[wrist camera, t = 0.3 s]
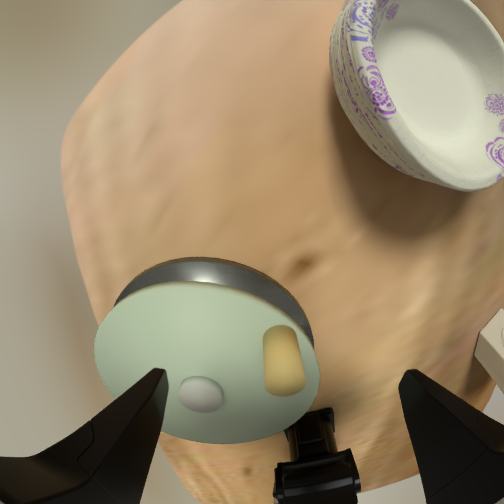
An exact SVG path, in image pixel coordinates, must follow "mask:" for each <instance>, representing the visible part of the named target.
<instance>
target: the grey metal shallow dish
mask: <svg viewBox="0 0 504 504" xmlns="http://www.w3.org/2000/svg"><path fill="white" fill-rule="evenodd" d="M173 281H200V282H211V283H216V284H221V285H226V286H230V287H234V288H237V289H240V290H243V291H246V292H249V293H251V294H253V295H256V296H258V297H260V298H262V299H265V300H266V301H268V302H270V303H271V304H273V305H275V306H276V307H278V308H280V309H281V310H282V311H284V312H285V313H286V314H287V315H289V316H290V317H291V318H292V319H293V320H294V321H295V322H296V323H297V324H298V325H299V326H300V327H301V328H302V329H303V331H304V332H305V334H306V335H307V337H308V338H309V339H310V342H311V344H312V346H313V348H314V339H313V335H312V331H311V328H310V324H309V321H308V319H307V317H306V315H305V312H304V311H303V309H302V308H301V306H300V304H299V303H298V301H297V300H296V299H295V298H294V297H293V296H292V295H291V294H290V292H289V291H288V290H286V289H285V288H284V287H283V286H282V285H280V284H279V283H278V282H277V281H275V280H274V279H272V278H270V277H269V276H267V275H266V274H264V273H262V272H260V271H258V270H256V269H254V268H251V267H249V266H246V265H243V264H240V263H237V262H234V261H229V260H224V259H219V258H209V257H186V258H180V259H174V260H169V261H166V262H163V263H160V264H157V265H155V266H153V267H151V268H149V269H147V270H145V271H144V272H142V273H141V274H139V275H138V276H136V277H135V278H134V279H133V280H132V281H131V282H130V283H129V284H128V285H127V286H126V288H125V289H124V290H123V291H122V293H121V294H120V296H119V297H118V299H117V300H116V302H115V305H116V304H117V303H118V302H119V301H121V300H122V299H124V298H125V297H126V296H128V295H129V294H131V293H133V292H135V291H138V290H140V289H142V288H145V287H148V286H152V285H155V284H159V283H166V282H173ZM115 305H114V306H115Z"/></svg>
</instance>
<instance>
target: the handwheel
mask: <svg viewBox="0 0 504 504" xmlns="http://www.w3.org/2000/svg"><path fill="white" fill-rule="evenodd" d="M94 356H95V362H96V366H97V369H98V372H99V374H100V377H101V378H102V380H103V382H104V384H105V386H106V387H107V388H108V390H109V392H110V393H111V394H112V395H113V397H114V398H115V399H117V398H118V397H119V396H120V395H122V394H123V393H124V392H125V391H126V390H128V389H129V388H130V387H131V386H132V385H134V384H135V383H136V382H137V381H139V380H140V379H141V378H142V377H143V376H145V375H146V374H147V373H148V372H149V371H151V370H152V369H153V368H155V367H156V368H163V369H165V370H166V372H167V377H168V383H169V391H168V397H167V402H166V408H165V413H164V419H163V425H162V428H161V431H162V432H165V433H167V434H170V435H173V436H176V437H179V438H183V439H186V440H191V441H196V442H202V443H211V444H235V443H244V442H250V441H255V440H259V439H262V438H265V437H269V436H271V435H274V434H276V433H278V432H280V431H282V430H284V429H286V428H288V427H289V426H291V425H292V424H294V423H295V422H296V421H297V420H299V419H300V418H301V417H302V416H303V415H304V414H305V413H306V412H307V410H308V409H309V408H310V407H311V405H312V403H313V402H314V400H315V398H316V395H317V393H318V389H319V384H320V370H319V366H318V362H317V358H316V354H315V350H314V348H313V346H312V344H311V342H310V339H309V338H308V337H307V335H306V334H305V332H304V331H303V329H302V328H301V327H300V326H299V325H298V324H297V323H296V322H295V321H294V320H293V319H292V318H291V317H290V316H289V315H287V314H286V313H285V312H284V311H282V310H281V309H280V308H278V307H276V306H275V305H273V304H271V303H270V302H268V301H266V300H265V299H262V298H260V297H258V296H256V295H253V294H251V293H249V292H246V291H243V290H240V289H237V288H234V287H230V286H226V285H221V284H216V283H211V282H200V281H173V282H166V283H159V284H155V285H152V286H148V287H145V288H142V289H140V290H138V291H135V292H133V293H131V294H129V295H128V296H126V297H125V298H124V299H122V300H121V301H119V302H118V303H117V304H116V305H115V306H114V307H113V308H112V309H111V311H110V312H109V313H108V315H107V316H106V317H105V319H104V320H103V322H102V324H101V325H100V327H99V329H98V332H97V335H96V338H95V344H94Z"/></svg>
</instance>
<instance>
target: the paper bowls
mask: <svg viewBox="0 0 504 504" xmlns="http://www.w3.org/2000/svg"><path fill="white" fill-rule="evenodd" d="M329 60H330V69H331V74H332V78H333V82H334V87H335V90H336V94H337V97H338V100H339V102H340V104H341V106H342V109H343V110H344V112H345V114H346V116H347V117H348V119H349V120H350V122H351V124H352V125H353V127H354V129H355V130H356V131H357V133H358V134H359V135H360V137H361V138H362V139H363V140H364V141H365V143H366V144H367V145H368V146H369V148H370V149H371V150H372V151H374V152H375V153H376V154H377V155H378V156H379V157H380V158H381V159H383V160H384V161H385V162H387V163H388V164H389V165H391V166H392V167H394V168H395V169H397V170H399V171H401V172H403V173H405V174H407V175H410V176H412V177H415V178H418V179H421V180H425V181H428V182H432V183H435V184H438V185H441V186H444V187H447V188H452V189H455V190H460V191H464V192H474V191H479V190H482V189H486V188H488V187H490V186H492V185H493V184H495V183H497V182H498V181H499V180H501V179H502V177H503V176H504V43H503V41H502V39H501V37H500V36H499V34H498V33H497V31H496V30H495V28H494V27H493V26H492V24H491V23H490V22H489V20H488V19H487V18H486V17H485V15H484V14H483V13H482V12H481V11H480V10H479V9H478V8H477V7H476V6H475V5H474V4H473V3H472V2H471V1H470V0H350V1H349V2H348V3H347V5H346V6H345V7H344V9H343V10H342V11H341V13H340V14H339V16H338V18H337V20H336V22H335V24H334V27H333V30H332V33H331V36H330V46H329Z"/></svg>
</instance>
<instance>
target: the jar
mask: <svg viewBox="0 0 504 504" xmlns="http://www.w3.org/2000/svg"><path fill="white" fill-rule="evenodd" d="M474 356H475V357H476V358H477V359H478V361H479V362H480V363H481V364H482V366H483V367H484V368H485V370H486V371H487V372H488V373H489V375H490V376H491V377H492V379H493V380H494V381H495V383H496V384H497V385H498V387H499V388H500V390H501V391H502V392H503V394H504V309H502V308H500V309H499V310H498V312H497V313H496V314H495V315H494V316H493V318H492V319H491V320H490V321H489V322H488V323H487V325H486V326H485V327H484V328H483V329H482V330H481V331H480V333H479V337H478V341H477V345H476V349H475V353H474Z"/></svg>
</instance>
